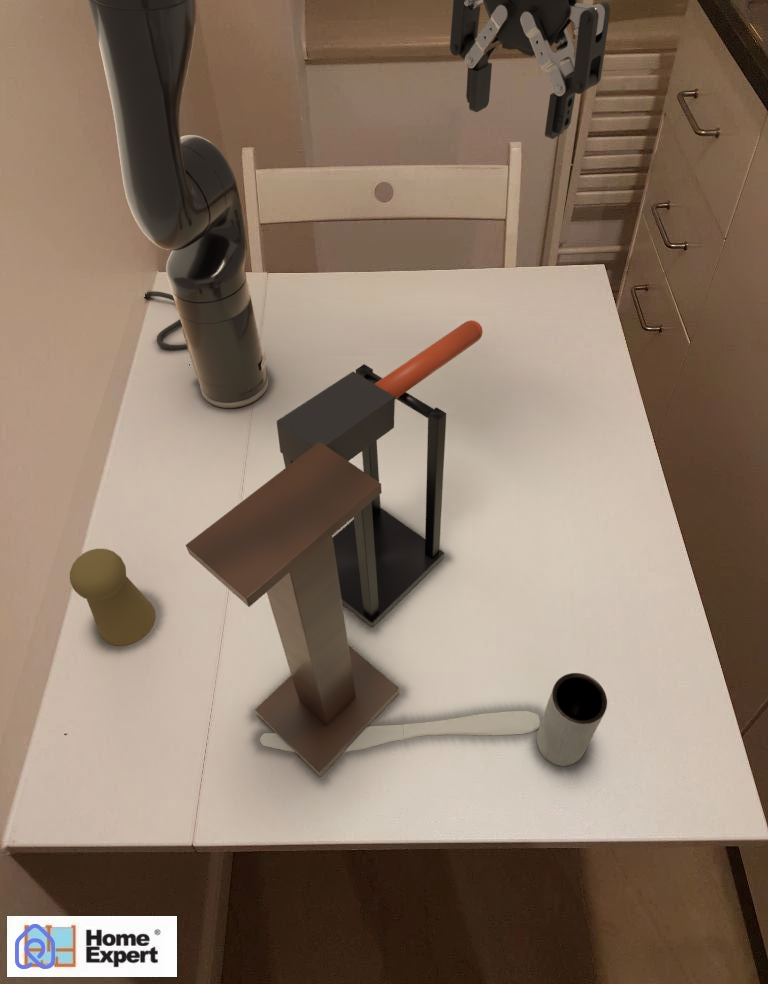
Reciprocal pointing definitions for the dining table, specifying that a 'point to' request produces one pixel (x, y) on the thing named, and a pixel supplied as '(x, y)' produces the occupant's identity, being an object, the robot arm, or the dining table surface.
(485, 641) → the dining table surface
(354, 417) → the orange-handled mallet
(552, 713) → the planter
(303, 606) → the wooden pedestal stand
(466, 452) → the dining table surface
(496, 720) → the butter knife
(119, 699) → the dining table surface
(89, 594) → the olive pawn
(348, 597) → the black rack
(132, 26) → the robot arm
